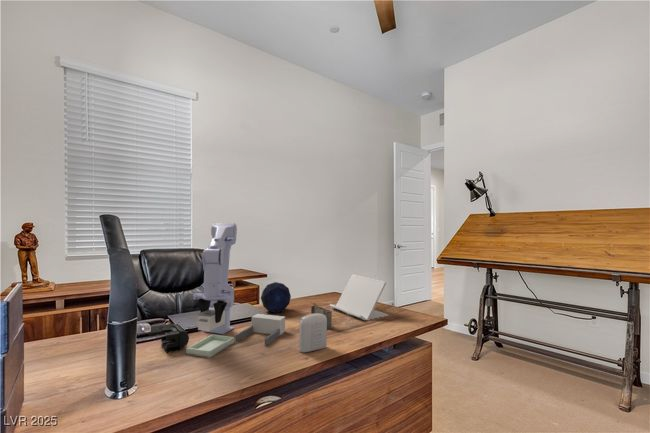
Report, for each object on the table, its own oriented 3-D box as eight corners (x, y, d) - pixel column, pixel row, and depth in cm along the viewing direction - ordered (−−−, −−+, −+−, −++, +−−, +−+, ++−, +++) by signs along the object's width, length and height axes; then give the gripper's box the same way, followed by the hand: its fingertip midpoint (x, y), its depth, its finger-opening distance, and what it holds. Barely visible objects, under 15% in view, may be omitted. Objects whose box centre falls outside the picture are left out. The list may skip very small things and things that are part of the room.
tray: (186, 354, 110) (186, 348, 110) (212, 339, 123) (212, 334, 123) (210, 357, 107) (210, 351, 107) (234, 342, 120) (234, 337, 120)
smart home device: (189, 326, 134) (132, 335, 123) (189, 331, 134) (132, 339, 123) (186, 321, 141) (132, 328, 130) (185, 325, 141) (131, 333, 130)
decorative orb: (300, 298, 168) (283, 274, 170) (290, 305, 153) (272, 279, 155) (279, 313, 170) (263, 289, 172) (267, 322, 156) (250, 295, 158)
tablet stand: (355, 304, 178) (356, 273, 179) (389, 316, 158) (389, 281, 158) (328, 309, 168) (329, 276, 168) (360, 322, 148) (361, 284, 148)
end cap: (188, 349, 114) (189, 329, 114) (166, 353, 110) (167, 333, 110) (181, 340, 122) (182, 322, 122) (160, 344, 118) (161, 325, 118)
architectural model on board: (310, 323, 146) (310, 301, 146) (315, 322, 148) (316, 300, 148) (325, 330, 137) (326, 307, 137) (331, 329, 139) (331, 306, 139)
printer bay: (236, 341, 122) (236, 325, 122) (257, 328, 137) (257, 313, 137) (266, 345, 118) (266, 329, 118) (285, 331, 134) (285, 316, 134)
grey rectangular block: (196, 330, 111) (197, 314, 111) (214, 322, 120) (214, 307, 120) (208, 331, 110) (208, 315, 110) (225, 323, 119) (225, 308, 119)
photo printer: (321, 344, 120) (322, 310, 120) (328, 348, 117) (328, 313, 117) (297, 350, 115) (297, 314, 115) (303, 354, 111) (303, 317, 111)
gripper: (187, 283, 114) (186, 322, 114) (223, 286, 109) (222, 327, 109) (200, 279, 120) (200, 316, 120) (235, 282, 116) (234, 320, 116)
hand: (211, 321), depth 115 cm, fingers closed on grey rectangular block, 4 cm apart
